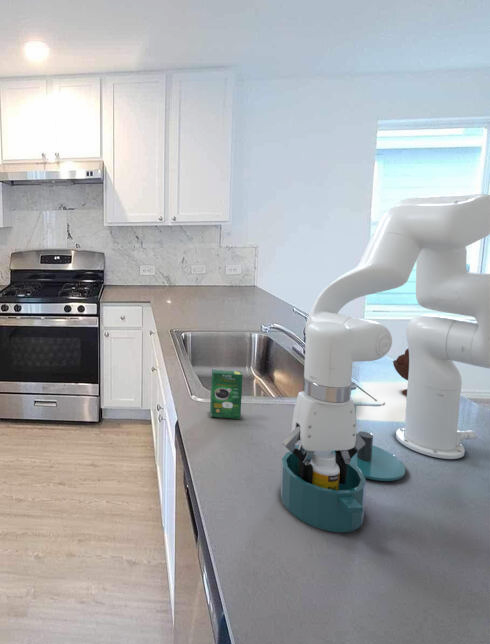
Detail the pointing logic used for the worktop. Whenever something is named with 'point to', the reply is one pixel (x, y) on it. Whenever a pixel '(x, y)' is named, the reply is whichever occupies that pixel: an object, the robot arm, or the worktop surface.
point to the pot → (323, 498)
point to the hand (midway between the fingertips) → (321, 479)
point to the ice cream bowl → (403, 366)
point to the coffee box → (226, 394)
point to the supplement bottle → (325, 470)
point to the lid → (377, 461)
